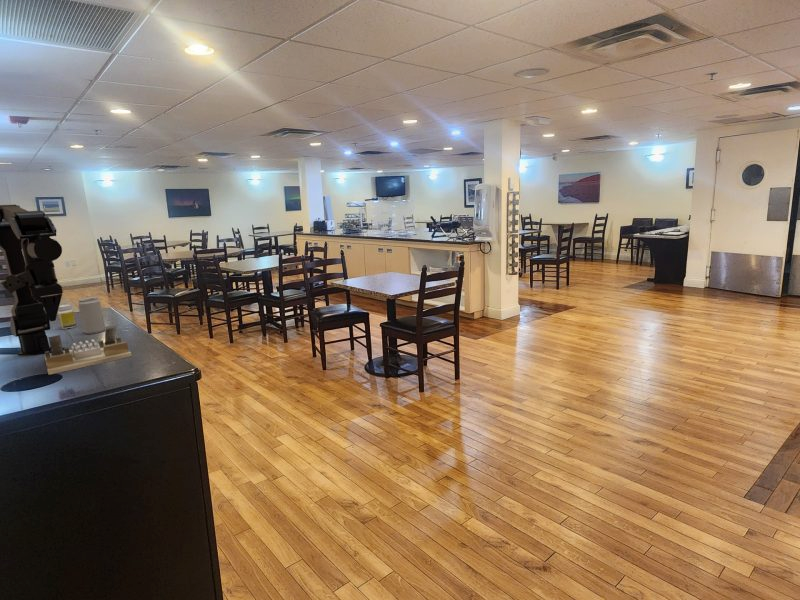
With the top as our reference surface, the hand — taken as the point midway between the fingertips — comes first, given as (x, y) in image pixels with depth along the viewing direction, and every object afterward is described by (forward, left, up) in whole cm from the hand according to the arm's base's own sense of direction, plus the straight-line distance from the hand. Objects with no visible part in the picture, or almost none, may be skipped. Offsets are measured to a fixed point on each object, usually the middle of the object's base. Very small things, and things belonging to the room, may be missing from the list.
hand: (51, 318), depth 126 cm
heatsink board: (+2, +6, -13) cm, 15 cm away
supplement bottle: (-36, +43, -13) cm, 58 cm away
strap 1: (-3, +2, -9) cm, 9 cm away
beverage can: (-19, +35, -13) cm, 42 cm away
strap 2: (+7, +11, -9) cm, 16 cm away
